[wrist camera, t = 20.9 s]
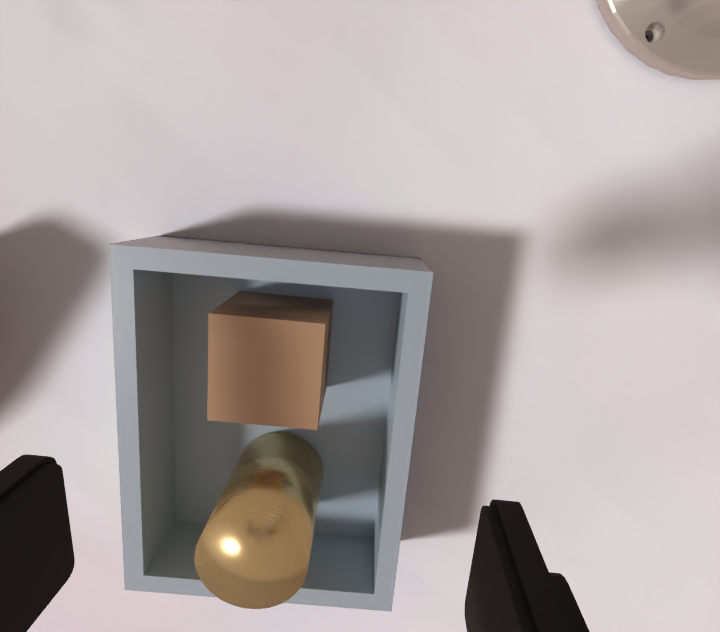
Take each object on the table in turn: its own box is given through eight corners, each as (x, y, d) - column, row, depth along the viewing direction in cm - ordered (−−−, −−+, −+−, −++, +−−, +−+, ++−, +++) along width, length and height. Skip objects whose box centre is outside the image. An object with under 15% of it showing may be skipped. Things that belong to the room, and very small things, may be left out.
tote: (420, 258, 25) (433, 272, 20) (387, 543, 29) (391, 611, 24) (159, 235, 25) (109, 244, 20) (165, 525, 29) (124, 589, 24)
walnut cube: (333, 299, 25) (325, 323, 20) (326, 387, 26) (317, 430, 21) (239, 291, 25) (208, 313, 20) (237, 379, 26) (207, 420, 21)
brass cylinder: (327, 437, 27) (312, 521, 20) (319, 511, 28) (303, 614, 21) (240, 427, 26) (195, 508, 20) (236, 502, 28) (193, 602, 21)
